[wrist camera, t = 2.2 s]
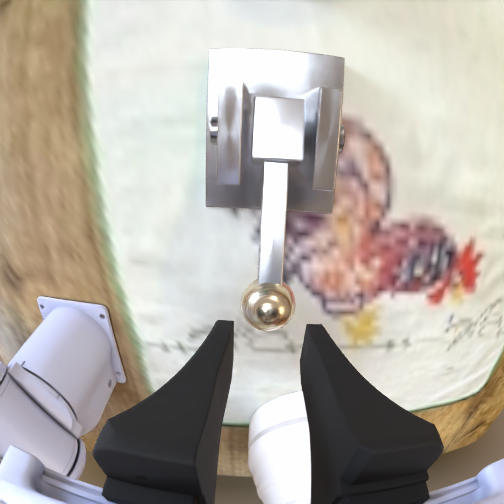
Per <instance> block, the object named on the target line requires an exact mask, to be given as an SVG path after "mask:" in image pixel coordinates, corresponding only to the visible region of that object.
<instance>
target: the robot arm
mask: <svg viewBox="0 0 504 504" xmlns="http://www.w3.org/2000/svg"><path fill="white" fill-rule="evenodd" d="M37 302H38V305H39V308H40V311H41V314H42V317H43V320H44V321H43V322H42V323H41V324H40V325H39V326H38V328H37V329H36V330H35V331H34V332H33V334H32V335H31V336H30V337H29V339H28V340H27V341H26V342H25V343H24V345H23V346H22V347H21V348H20V350H19V351H18V352H17V353H16V355H15V356H14V357H13V359H12V360H11V361H10V362H9V364H8V365H7V366H5V365H4V364H3V363H2V362H0V458H1V459H2V462H1V461H0V504H214V503H215V488H216V476H217V465H218V455H219V444H220V434H221V427H222V422H223V417H224V412H225V408H226V403H227V398H228V394H229V389H230V384H231V379H232V368H233V347H234V321H226V320H218V321H217V322H216V323H215V325H214V326H213V328H212V330H211V332H210V333H209V335H208V336H207V338H206V339H205V341H204V342H203V343H202V345H201V346H200V347H199V349H198V350H197V351H196V353H195V354H194V355H193V356H192V357H191V359H190V360H189V361H188V362H187V363H186V364H185V366H184V367H183V368H182V369H181V370H180V371H179V372H178V373H177V374H176V375H175V376H174V377H172V378H171V379H170V380H169V381H168V382H167V383H166V384H164V385H163V386H162V387H161V388H160V389H158V390H157V391H156V392H155V393H153V394H152V395H150V396H149V397H147V398H146V399H144V400H143V401H141V402H140V403H138V404H137V405H135V406H133V407H132V408H130V409H128V410H126V411H124V412H122V413H120V414H118V415H116V416H114V417H112V418H110V419H108V420H107V422H106V424H105V426H104V427H103V429H102V431H101V432H100V434H99V437H98V439H97V442H96V444H95V447H94V449H93V456H94V458H95V460H96V462H97V463H98V464H99V466H100V467H101V469H102V470H103V471H104V473H105V474H106V475H107V478H106V481H105V484H104V487H103V488H100V487H97V486H94V485H90V484H88V483H85V482H82V481H79V480H78V479H79V477H80V476H81V474H82V471H83V469H84V466H85V461H86V448H85V444H84V442H83V441H82V439H81V438H79V436H83V435H85V434H87V433H89V432H90V431H91V430H93V429H94V428H95V427H96V425H97V424H98V422H99V421H100V418H101V416H102V414H103V411H104V409H105V407H106V405H107V402H108V400H109V398H110V396H111V394H112V391H113V389H114V387H115V385H116V383H117V382H119V383H125V382H126V376H125V373H124V370H123V366H122V363H121V360H120V356H119V353H118V349H117V345H116V342H115V338H114V334H113V330H112V326H111V322H110V318H109V314H108V310H107V308H106V307H105V306H103V305H98V304H91V303H83V302H76V301H69V300H63V299H56V298H50V297H44V296H40V297H39V298H38V299H37ZM103 315H104V316H105V317H104V316H103ZM300 374H301V385H302V391H303V397H304V403H305V408H306V414H307V420H308V425H309V434H310V453H311V504H504V459H501V460H499V461H497V462H494V463H492V464H490V465H489V466H487V467H485V468H484V469H483V470H482V471H480V472H479V474H478V475H477V476H476V477H473V478H470V479H468V480H465V481H463V482H459V483H457V484H454V485H451V486H448V487H445V488H442V489H438V490H435V491H432V492H428V488H427V485H426V481H427V480H428V479H429V476H428V473H427V469H428V468H429V467H430V466H431V465H432V464H433V463H434V462H435V461H436V460H437V459H438V457H439V456H440V455H441V453H442V452H443V448H444V446H443V444H442V441H441V438H440V435H439V433H438V431H437V429H436V427H435V425H434V424H432V423H430V422H428V421H426V420H424V419H422V418H420V417H418V416H415V415H414V414H412V413H410V412H408V411H407V410H405V409H403V408H402V407H400V406H399V405H397V404H396V403H394V402H393V401H391V400H390V399H389V398H387V397H386V396H385V395H383V394H382V393H381V392H380V391H378V390H377V389H376V388H375V387H374V386H373V385H371V384H370V383H369V382H368V381H367V380H366V379H365V378H364V377H363V376H362V375H361V374H360V373H359V372H358V371H357V370H356V369H355V367H354V366H353V365H352V364H351V363H350V362H349V361H348V359H347V358H346V357H345V356H344V354H343V353H342V352H341V351H340V349H339V348H338V347H337V345H336V344H335V342H334V341H333V340H332V338H331V337H330V335H329V334H328V333H327V331H326V330H325V328H324V327H323V326H322V324H307V325H306V330H305V336H304V342H303V347H302V353H301V358H300Z"/></svg>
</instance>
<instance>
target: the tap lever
mask: <svg viewBox="0 0 504 504" xmlns="http://www.w3.org/2000/svg"><path fill="white" fill-rule="evenodd" d="M304 136H305V100H304V99H294V98H281V97H265V96H255V97H254V110H253V129H252V148H251V159H252V163H253V164H259V165H264V166H263V187H262V207H261V226H260V246H259V264H258V279H257V280H255V281H253V282H252V283H250V284H249V285H248V286H247V288H246V289H245V290H244V292H243V295H242V298H241V311H242V314H243V316H244V318H245V320H246V321H247V322H248V323H249V324H250V325H251V326H252V327H254V328H256V329H258V330H261V331H275V330H278V329H280V328H282V327H283V326H285V325H286V324H287V323H288V322H289V321H290V320H291V318H292V316H293V314H294V311H295V298H294V294H293V292H292V290H291V289H290V287H289V286H288V285H287V284H286V283H285V282H283V281H282V276H283V261H284V246H285V230H286V213H287V194H288V174H289V166H292V167H296V166H298V165H299V164H300V163H301V162H302V161H303V160H304Z"/></svg>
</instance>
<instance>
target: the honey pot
mask: <svg viewBox="0 0 504 504" xmlns="http://www.w3.org/2000/svg"><path fill="white" fill-rule="evenodd" d="M248 451H249V452H248V457H249V458H248V461H247V463H248V468H249V470H250V473H251V474H252V476H253V480H254V483H255V486H256V487H257V494H258V496H259V498H260V499H261V500H262V501H263V503H264V504H311V453H310V434H309V425H308V420H307V414H306V408H305V403H304V397H303V391H298V392H294V393H291V394H287V395H283V396H280V397H278V398H276V399H274V400H271V401H269V402H267V403H266V404H264V405H263V406H262V407H260V408H259V409H257V411H256V412H255V413H254V415H253V416H252V417H251V420H250V425H249V439H248Z"/></svg>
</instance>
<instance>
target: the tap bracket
mask: <svg viewBox="0 0 504 504" xmlns="http://www.w3.org/2000/svg"><path fill="white" fill-rule="evenodd" d="M343 83H344V58H343V57H337V56H330V55H323V54H315V53H306V52H296V51H283V50H268V49H210V51H209V71H208V95H207V129H206V207H227V208H249V209H261V207H262V187H263V166H264V165H259V164H253V163H252V159H251V148H252V129H253V110H254V97H255V96H265V97H281V98H294V99H304V100H305V136H304V160H303V161H302V162H301V163H300V164H299V165H298V166H296V167H292V166H289V174H288V194H287V211H302V212H317V213H332V209H333V201H334V192H335V184H336V174H337V164H338V154H339V153H341V152H342V150H343V147H344V141H345V130H344V126H343V125H342V124H341V117H342V101H343Z"/></svg>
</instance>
